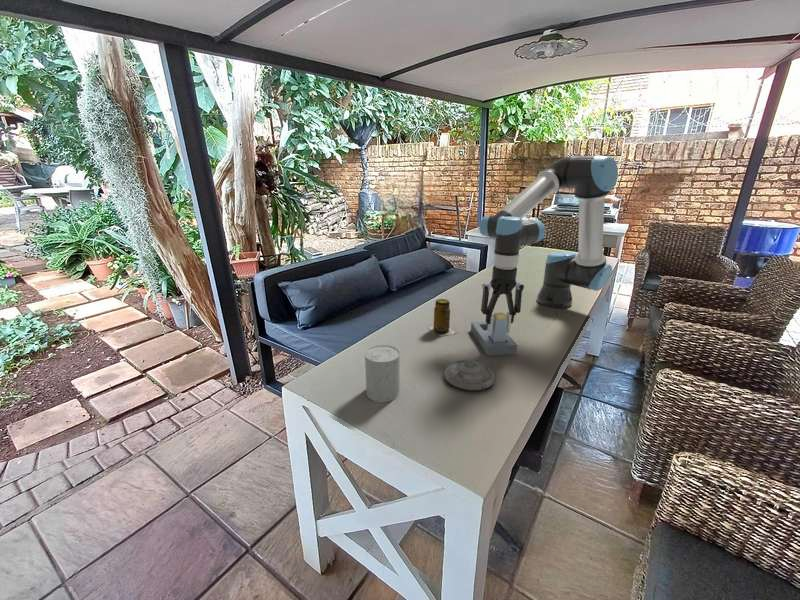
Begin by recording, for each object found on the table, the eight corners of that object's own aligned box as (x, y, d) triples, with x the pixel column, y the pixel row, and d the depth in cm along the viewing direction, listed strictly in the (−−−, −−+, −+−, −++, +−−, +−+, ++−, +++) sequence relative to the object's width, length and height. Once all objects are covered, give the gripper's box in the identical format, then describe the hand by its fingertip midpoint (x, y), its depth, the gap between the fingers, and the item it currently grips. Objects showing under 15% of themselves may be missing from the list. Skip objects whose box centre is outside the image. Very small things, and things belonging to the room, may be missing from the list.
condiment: (444, 325, 147) (445, 296, 143) (456, 333, 140) (457, 303, 135) (428, 328, 144) (429, 299, 140) (439, 337, 137) (441, 307, 132)
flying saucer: (461, 399, 101) (462, 382, 99) (434, 372, 114) (435, 357, 112) (505, 387, 107) (507, 370, 105) (475, 362, 119) (476, 347, 117)
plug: (500, 343, 130) (503, 312, 126) (504, 349, 126) (508, 316, 122) (489, 344, 130) (492, 312, 125) (493, 349, 126) (496, 317, 122)
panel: (495, 329, 143) (496, 321, 141) (516, 354, 124) (517, 345, 123) (470, 330, 142) (471, 322, 141) (487, 355, 123) (488, 346, 122)
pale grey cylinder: (366, 383, 108) (364, 345, 104) (398, 381, 109) (398, 344, 104) (366, 402, 99) (364, 363, 95) (401, 401, 100) (401, 361, 96)
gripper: (527, 262, 122) (519, 326, 130) (473, 264, 121) (469, 328, 129) (537, 268, 115) (528, 335, 123) (480, 270, 114) (475, 337, 122)
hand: (498, 331), depth 126 cm, fingers open, 5 cm apart
